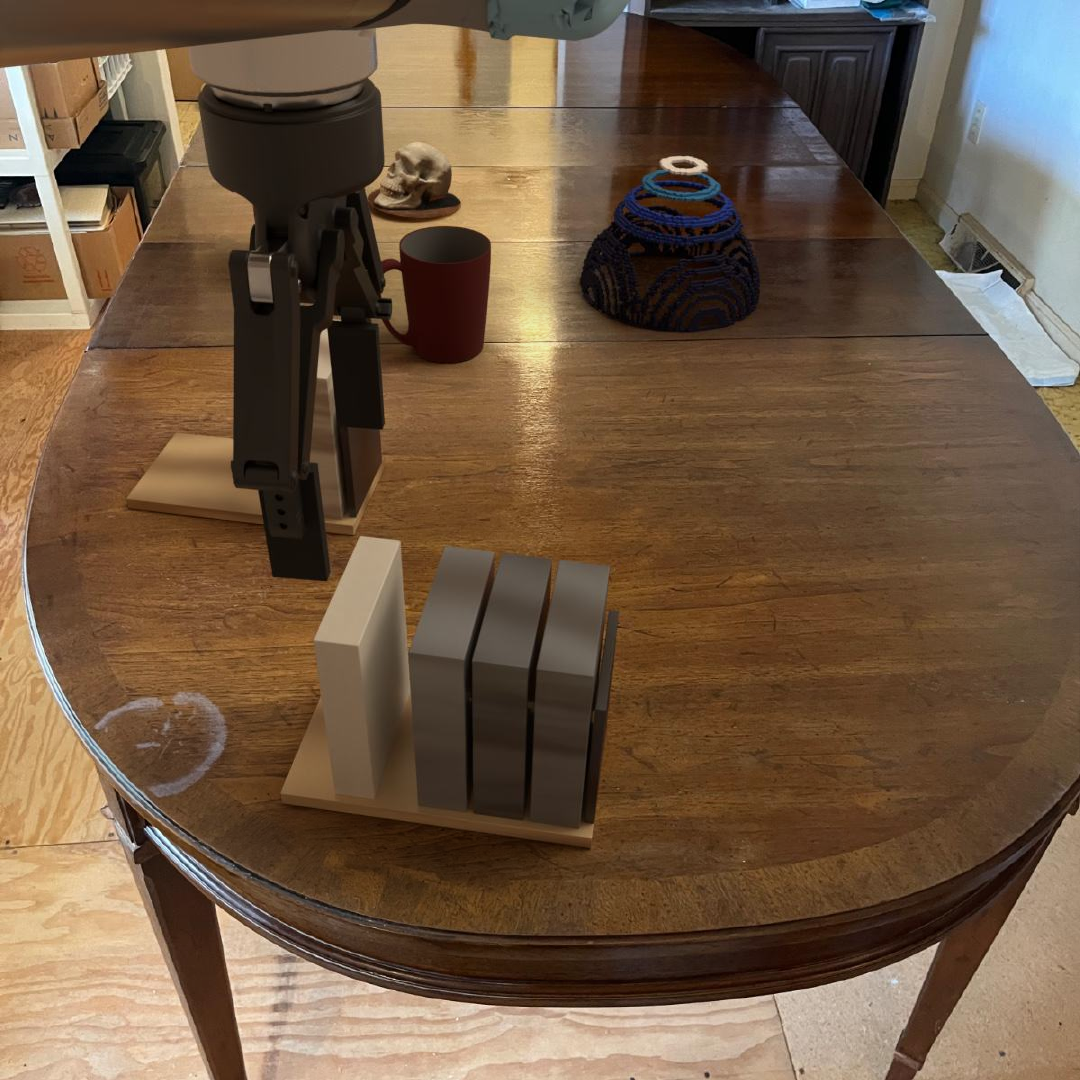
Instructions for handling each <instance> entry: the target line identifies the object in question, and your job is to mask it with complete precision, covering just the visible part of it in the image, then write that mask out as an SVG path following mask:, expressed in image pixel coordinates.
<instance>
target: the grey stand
mask: <svg viewBox="0 0 1080 1080" xmlns="http://www.w3.org/2000/svg"><path fill="white" fill-rule="evenodd" d="M497 565H498V566H497V569H496V568H495V567H496V553H495V551H491V550H483V549H475V548H474V549H473V548H467V547H466V548H465V547H457V546H450V545H445V546H444V548H443V551H442V553H441V555H440V559H439V562H438V565H437V568H436V571H435V574H434V577H433V580H432V583H431V586H430V588H429V591H428V594H427V597H426V600H425V603H424V605H423V608H422V611H421V614H420V617H419V621H418V622H417V626H416V629H415V632H414V633H413V634H414V635H413V637H412V641H411V643H410V646H409V649H408V665H409V680H410V693H409V696H408V699H407V702H406V705H405V709H404V712H403V715H402V718H401V721H400V724H399V727H398V730H397V733H396V736H395V739H394V742H393V745H392V748H391V751H390V754H389V757H388V760H387V763H386V766H385V769H384V772H383V775H382V778H381V781H380V784H379V787H378V790H377V793H376V796H375V799H369V798H362V797H355V796H348V795H341V794H335V790H334V783H333V776H332V769H331V762H330V755H329V748H328V741H327V734H326V727H325V720H324V713H323V706H322V699H321V696H319V699H318V702H317V703H316V707H315V708H314V710H313V711H314V712H313V713H312V715H311V719H310V720H309V723H308V725H307V728H306V731H305V732H304V735H303V738H302V740H301V742H300V745H299V747H298V750H297V752H296V754H295V756H294V759H293V762H292V764H291V767H290V769H289V771H288V773H287V776H286V778H285V780H284V783H283V785H282V788H281V789H280V790H281V791H280V793H279V794H280V800H281V804H283V805H284V804H285V805H291V806H298V807H305V808H311V809H312V808H313V809H319V810H326V811H332V812H339V813H345V814H353V815H358V816H359V815H360V816H368V817H372V818H373V817H374V818H381V819H389V820H395V821H400V822H401V821H402V822H409V823H416V824H422V825H429V826H434V827H435V826H437V827H442V828H449V829H455V830H456V829H457V830H463V831H471V832H477V833H485V834H491V835H497V836H506V837H512V838H519V839H525V840H532V841H539V842H545V843H546V842H547V843H553V844H560V845H566V846H573V847H580V848H587V849H591V848H592V843H593V836H594V828H595V821H596V820H595V819H596V814H597V813H596V812H597V806H598V805H597V804H598V797H599V791H600V790H599V789H600V782H601V775H602V774H601V773H602V766H603V758H604V751H605V745H606V736H607V728H608V720H609V707H610V699H611V692H612V691H611V689H612V680H613V671H614V663H615V653H616V644H617V634H618V626H619V618H620V617H619V616H620V611H619V610H612V609H609V610H608V616H607V621H606V614H607V602H608V592H609V583H610V572H611V566H610V565H605V564H598V563H589V562H580V561H572V560H566V559H565V560H564V559H559V560H558V564H557V568H556V572H555V577H554V583H553V587H552V571H553V570H552V569H553V559H552V558H549V557H541V556H532V555H523V554H515V553H508V552H502V553H501V554H500V558H499V562H498V564H497ZM495 569H496V570H495ZM495 571H496V572H495ZM606 622H607V623H606ZM605 625H606V628H605ZM604 632H605V633H604ZM604 634H605V637H604Z"/></svg>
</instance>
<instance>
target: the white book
mask: <svg viewBox="0 0 1080 1080" xmlns="http://www.w3.org/2000/svg"><path fill="white" fill-rule="evenodd" d="M401 543H402V542H401V540H399V539H391V538H390V539H389V538H382V537H381V538H380V537H374V536H373V537H372V536H364V535H360V536H359V537H358V540H357V542H356V543H355V546H354V548H353V551H352V553H351V555H350V557H349V559H348V562H347V564H346V566H345V568H344V571H343V573H342V575H341V577H340V579H339V581H338V584H337V586H336V589H335V591H334V593H333V594H332V596H331V597H332V598H331V600H330V602H329V604H328V606H327V608H326V611H325V613H324V615H323V616H322V617H323V618H322V619H321V621H320V624H319V626H318V628H317V631H316V633H315V635H314V638H313V640H312V642H313V648H314V655H315V662H316V663H315V664H316V669H317V670H316V671H317V676H318V677H317V678H318V684H319V690H320V692H319V693H320V697H321V699H322V706H323V713H324V720H325V727H326V734H327V741H328V748H329V755H330V762H331V769H332V776H333V783H334V790H335V794H341V795H348V796H355V797H362V798H369V799H375V796H376V793H377V790H378V787H379V784H380V781H381V778H382V775H383V772H384V769H385V766H386V763H387V760H388V757H389V754H390V751H391V748H392V745H393V742H394V739H395V736H396V733H397V730H398V727H399V724H400V721H401V718H402V715H403V712H404V709H405V705H406V702H407V699H408V696H409V693H410V673H409V657H408V652H409V649H408V636H407V635H408V634H407V622H406V619H407V617H406V603H405V588H404V587H405V586H404V573H403V558H402V544H401Z"/></svg>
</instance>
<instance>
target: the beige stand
mask: <svg viewBox="0 0 1080 1080" xmlns="http://www.w3.org/2000/svg"><path fill="white" fill-rule="evenodd" d="M333 320H335V321H341V319H337V318H333ZM382 454H383V453H382V441H381V430H379V429H366V428H353V427H339V426H337V420H336V410H335V400H334V390H333V381H332V371H331V361H330V352H329V342H328V332H327V329H325V330H323V331H322V332H321V335H320V347H319V358H318V370H317V382H316V393H315V405H314V417H313V429H312V440H311V452H310V463H318V470H319V479H320V487H321V495H322V504H323V512H324V520H325V529H326V533H332V534H341V535H348V536H354V535H355V533H356V532H357V529H358V527H359V525H360V524H361V523H360V522H361V520H362V518H363V516H364V514H365V513H366V509H367V508H368V505H369V503H370V501H371V498H372V497H373V495H374V492H375V490H376V488H377V486H378V483H379V481H380V479H381V477H382V475H383V472H384V470H385V467H386V466H387V462H386V461H387V460H386V455H382ZM231 460H233V438H230V437H221V436H213V435H204V434H194V433H187V432H186V433H184V432H175V433H174V435H173V436H171V438H170V440H168V442H167V444H166V445H165V446H164V448H162V450H161V452H160V453H159V454H158V456H157V457H156V458H155V460H154V461H153V462H152V463H151V465H150V466H149V468H148V469H147V470H146V471H145V472H144V473H143V475H142V476H141V478H140V479H139V481H138V482H137V483H136V485H134V488H133V489H131V491H130V493H129V494H128V495H127V496H126V498H125V501H126V505H127V508H128V509H133V510H142V511H149V512H155V513H166V514H173V515H181V516H190V517H197V518H198V517H200V518H208V519H216V520H225V521H232V522H239V523H248V524H257V525H264V523H263V517H262V511H261V505H260V499H259V493H258V490H251V489H242V488H236V487H235V486H234V484H233V476H232V474H233V473H232V471H231Z"/></svg>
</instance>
